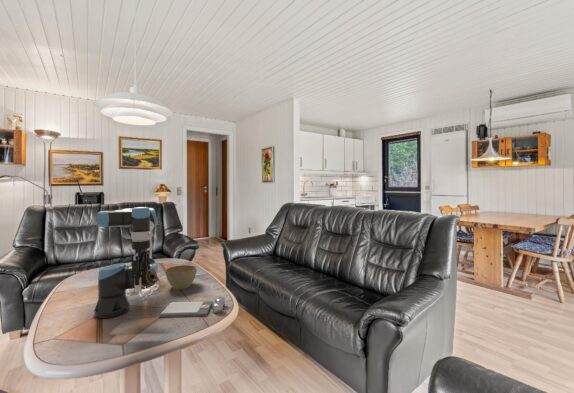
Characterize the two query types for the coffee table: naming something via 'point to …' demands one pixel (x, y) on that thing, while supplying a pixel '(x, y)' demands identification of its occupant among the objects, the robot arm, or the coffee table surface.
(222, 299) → the cylinder
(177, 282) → the olive beige round bowl
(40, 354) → the coffee table surface
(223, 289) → the coffee table surface
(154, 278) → the mechanical counter
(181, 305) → the dial scale
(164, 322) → the coffee table surface
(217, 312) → the cylinder
